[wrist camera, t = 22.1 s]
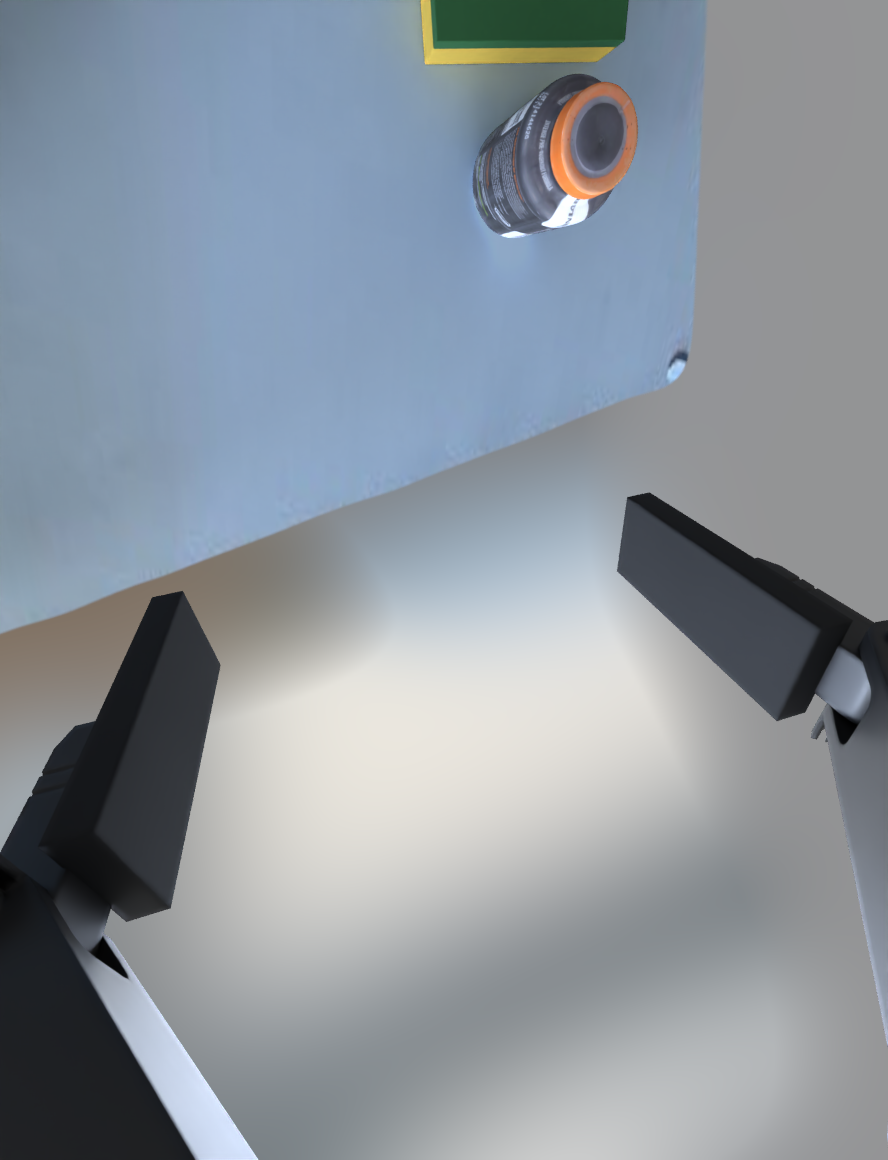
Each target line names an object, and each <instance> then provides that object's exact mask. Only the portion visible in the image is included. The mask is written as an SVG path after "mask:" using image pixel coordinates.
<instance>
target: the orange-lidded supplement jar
mask: <svg viewBox="0 0 888 1160" xmlns="http://www.w3.org/2000/svg"><path fill="white" fill-rule="evenodd" d="M637 135H638V125H637V117H636V112H635V108H634V105H633V103H632V101H631V99H630V97H629V96H628V95H627V93H626V92H625V91H624V90H623V89H622V88H621V87H619V86H618V85H616V84H613V83H609V82H601V81H599V80H598V79H596V78H594V77H592V76H589V75H584V74H572V75H568V76H565V77H562V78H560V79H558V80H556V81H555V82H553V83H551V84H550V85H549V86H548V87H546V88H545V89H544V90H543V91H542V92H540V93H539V94H538V95H537V96H535V97H534V98H533V99H532V100H530V101H529V102H528V103H527V104H525V105H524V106H523V107H522V108H521V109H520V110H519V111H517V112H516V113H515V114H514V115H512V116H511V117H510V118H509V119H507V120H506V121H505V122H504V123H503V124H501V125H500V126H499V127H497V128H496V129H495V130H494V131H493V132H492V133H491V134H490V135H489V136H488V138H487V139H486V140H485V142H484V144H483V145H482V147H481V149H480V151H479V154H478V156H477V159H476V162H475V168H474V173H473V193H474V199H475V203H476V207H477V209H478V211H479V213H480V215H481V217H482V219H483V221H484V222H485V223H486V224H487V226H488V227H489V228H490V229H491V230H493V231H494V232H495V233H497V234H498V235H501V236H504V237H509V238H517V237H522V236H527V235H531V234H535V233H540V232H544V231H549V230H553V229H557V228H561V227H565V226H568V225H572V224H576V223H579V222H581V221H583V220H585V219H587V218H589V217H590V216H591V215H592V214H594V213H595V212H596V211H597V210H598V209H599V208H600V207H601V206H602V205H603V203H604V202H605V201H606V200H607V198H608V197H609V195H610V193H611V192H612V190H613V188H614V186H615V185H616V184H618V183H619V182H620V180H621V179H622V178H623V176H624V175H625V174H626V172H627V170H628V168H629V166H630V164H631V162H632V160H633V157H634V154H635V149H636V145H637Z"/></svg>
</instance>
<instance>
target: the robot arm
mask: <svg viewBox="0 0 888 1160" xmlns="http://www.w3.org/2000/svg"><path fill="white" fill-rule="evenodd" d="M617 571H618V572H619V573H620V574H621V575H622V576H623V577H624V578H625V579H626V580H627V581H628V582H629V583H630V584H632V585H633V586H634V587H635V588H636V589H637V590H638V591H639V592H640V593H641V594H642V595H643V596H644V597H645V598H646V599H647V600H649V602H651V603H652V604H653V605H654V606H655V607H656V608H657V609H658V610H659V611H660V612H661V613H662V614H663V615H664V616H666V617H667V618H668V619H669V620H670V621H671V622H672V623H673V624H674V625H675V626H676V627H677V628H678V629H680V631H681V632H682V633H684V634H685V635H686V636H687V637H688V638H689V639H690V640H691V641H692V642H693V643H694V644H695V645H696V646H698V648H700V649H701V650H702V651H703V652H704V653H705V654H706V655H707V656H708V657H709V658H710V659H711V660H712V661H713V662H714V663H716V664H717V665H718V666H719V667H720V668H721V669H722V670H723V671H724V672H725V673H726V674H727V675H728V676H729V677H730V678H731V679H733V680H734V681H735V682H736V683H737V684H738V685H739V686H740V687H741V688H742V689H743V690H744V691H745V692H747V694H749V695H750V696H751V697H752V698H753V699H754V700H755V701H756V702H757V703H758V704H759V705H760V706H761V707H762V708H763V709H764V710H766V711H767V712H768V713H769V714H770V715H771V716H772V717H773V718H774V719H775V720H776V721H779V720H782V719H785V718H788V717H792V716H795V715H798V714H801V713H805V712H806V710H807V708H808V706H809V704H810V702H811V700H812V698H813V696H814V694H817V695H818V696H819V697H820V698H821V699H823V700H824V701H825V702H826V703H827V705H826V706H825V708H824V710H823V712H822V713H821V715H820V717H819V719H818V721H817V723H816V724H815V726H814V728H813V730H812V734H811V738H813V739H817V738H818V736H819V735H820V733H821V731H822V730H823V729H825V730H826V735H827V738H826V740H825V741H826V742H828V745H829V750H830V755H831V760H832V766H833V771H834V776H835V781H836V785H837V791H838V796H839V801H840V806H841V811H842V816H843V822H844V827H845V831H846V837H847V841H848V847H849V852H850V857H851V862H852V867H853V872H854V877H855V883H856V887H857V893H858V897H859V903H860V908H861V913H862V917H863V923H864V928H865V933H866V938H867V944H868V948H869V954H870V959H871V964H872V968H873V974H874V979H875V984H876V989H877V994H878V1000H879V1005H880V1010H881V1015H882V1020H883V1025H884V1030H885V1035H886V1040H887V1045H888V620H886V621H881V622H875V623H874V622H872V621H871V620H869V619H867V618H866V617H864V616H862V615H860V614H859V613H857V612H856V611H854V610H853V609H851V608H849V607H848V606H846V605H844V604H842V603H841V602H839V601H838V600H836V599H834V598H833V597H831V596H829V595H828V594H826V593H824V592H823V591H821V590H820V589H815V588H814V586H813V585H811V584H810V583H808V582H806V581H805V580H803V579H802V580H800V579H799V577H798V576H797V575H795V574H793V573H792V572H790V571H788V570H787V569H785V568H783V567H782V566H780V565H777V564H774V563H771V562H768V561H766V560H763V559H760V558H753V557H751V556H750V555H748V554H747V553H745V552H743V551H742V550H740V549H739V548H737V547H735V546H734V545H732V544H731V543H729V542H728V541H726V540H724V539H723V538H721V537H720V536H718V535H716V534H715V533H713V532H712V531H710V530H708V529H707V528H705V527H704V526H702V525H700V524H699V523H697V522H696V521H694V520H692V519H691V518H689V517H688V516H686V515H684V514H683V513H681V512H679V511H678V510H676V509H675V508H673V507H672V506H670V505H669V504H667V503H665V502H664V501H662V500H660V499H659V498H657V497H656V496H654V495H652V494H651V493H645V494H640V495H636V496H631V497H627V503H626V510H625V517H624V525H623V532H622V539H621V546H620V554H619V561H618V569H617ZM219 670H220V663H219V661H218V659H217V657H216V655H215V653H214V651H213V649H212V647H211V645H210V643H209V642H208V640H207V638H206V636H205V634H204V632H203V630H202V628H201V626H200V624H199V622H198V620H197V618H196V616H195V614H194V612H193V610H192V608H191V606H190V604H189V602H188V600H187V598H186V596H185V594H184V592H183V591H180V592H175V593H171V594H166V595H161V596H156V597H153V598H152V599H151V601H150V603H149V606H148V608H147V610H146V612H145V614H144V617H143V619H142V621H141V623H140V625H139V627H138V630H137V632H136V634H135V636H134V639H133V641H132V643H131V645H130V647H129V649H128V652H127V654H126V656H125V658H124V660H123V662H122V665H121V667H120V669H119V671H118V673H117V675H116V678H115V680H114V682H113V684H112V686H111V689H110V691H109V693H108V695H107V697H106V699H105V702H104V704H103V706H102V708H101V710H100V713H99V715H98V717H97V719H96V721H94V722H90V723H86V724H82V725H78V726H75V727H74V728H73V729H72V730H71V731H70V732H69V733H68V734H67V735H66V737H65V738H64V739H63V740H62V741H61V742H60V743H59V744H58V745H57V746H56V747H55V748H54V750H53V752H52V754H51V756H50V758H49V760H48V762H47V764H46V765H45V768H44V769H43V771H42V773H43V776H41V777H39V779H38V781H37V783H36V785H35V787H34V789H33V790H32V793H33V795H32V796H31V797H29V798H28V800H27V802H26V804H25V806H24V808H23V810H22V812H21V814H20V816H19V817H18V820H17V821H16V823H15V825H14V827H13V829H12V831H11V833H10V835H9V837H8V839H7V841H6V842H5V844H4V846H3V848H2V850H1V852H0V1160H258V1159H257V1157H256V1156H255V1154H254V1153H253V1151H252V1150H251V1148H250V1147H249V1145H248V1144H247V1142H246V1141H245V1139H244V1138H243V1136H242V1135H241V1133H240V1132H239V1130H238V1129H237V1128H236V1126H235V1124H234V1123H233V1121H232V1120H231V1118H230V1117H229V1115H228V1114H227V1112H226V1111H225V1109H224V1108H223V1106H222V1105H221V1103H220V1102H219V1100H218V1099H217V1097H216V1096H215V1094H214V1093H213V1091H212V1090H211V1088H210V1087H209V1085H208V1084H207V1082H206V1081H205V1079H204V1078H203V1076H202V1075H201V1073H200V1072H199V1070H198V1069H197V1067H196V1066H195V1064H194V1063H193V1061H192V1060H191V1058H190V1057H189V1055H188V1054H187V1052H186V1051H185V1050H184V1048H183V1046H182V1045H181V1043H180V1042H179V1041H178V1039H177V1037H176V1036H175V1034H174V1033H173V1031H172V1030H171V1028H170V1027H169V1025H168V1024H167V1022H166V1021H165V1019H164V1018H163V1016H162V1015H161V1013H160V1012H159V1010H158V1009H157V1007H156V1006H155V1004H154V1003H153V1001H152V1000H151V998H150V997H149V995H148V994H147V992H146V991H145V989H144V988H143V986H142V985H141V983H140V982H139V981H138V979H137V977H136V976H135V974H134V973H133V971H132V970H131V968H130V967H129V965H128V964H127V962H126V961H125V959H124V958H123V956H122V955H121V953H120V952H119V950H118V949H117V947H116V946H115V944H114V943H113V941H112V940H111V939H110V938H109V937H108V936H106V935H105V934H104V929H105V926H106V923H107V919H108V916H109V913H110V909H112V910H113V911H114V912H115V913H117V914H118V915H119V916H120V917H121V918H122V919H124V920H125V921H126V922H127V921H131V920H134V919H137V918H140V917H144V916H147V915H150V914H153V913H157V912H160V911H163V910H166V909H170V908H171V904H172V899H173V894H174V889H175V884H176V879H177V875H178V870H179V865H180V860H181V855H182V850H183V845H184V841H185V836H186V831H187V826H188V821H189V816H190V811H191V806H192V802H193V797H194V792H195V787H196V782H197V777H198V772H199V767H200V762H201V757H202V752H203V748H204V742H205V738H206V733H207V728H208V723H209V719H210V714H211V708H212V704H213V699H214V694H215V689H216V685H217V680H218V674H219ZM887 1137H888V1135H887Z"/></svg>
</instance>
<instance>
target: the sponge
mask: <svg viewBox="0 0 888 1160" xmlns="http://www.w3.org/2000/svg"><path fill="white" fill-rule="evenodd" d="M628 1H629V0H421V14H422V29H423V44H424V59H425V64H426V65H428V64H491V63H554V62H597V61H599V60H600V59H601V58H603V57H604V56H605V55H607V54H608V53H609V52H610V51H612V50H613V49H614V48H616V47H617V46H618V45H620V44H621V43H622V42H624V40H625V33H626V22H627V11H628Z"/></svg>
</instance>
